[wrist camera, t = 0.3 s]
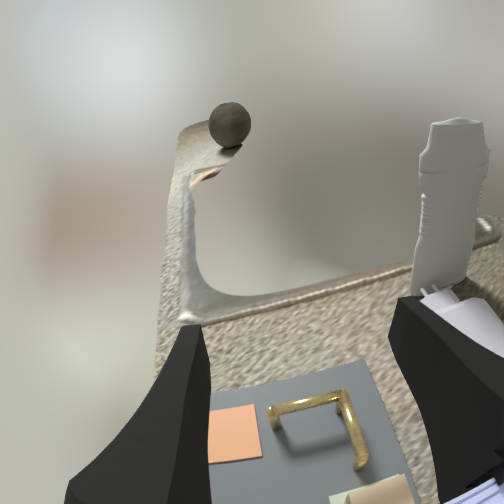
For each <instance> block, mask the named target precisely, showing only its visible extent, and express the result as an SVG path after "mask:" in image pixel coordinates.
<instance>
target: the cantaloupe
mask: <svg viewBox="0 0 504 504" xmlns="http://www.w3.org/2000/svg"><path fill="white" fill-rule="evenodd" d="M250 129H251V118H250V115H249V113H248V112H247V111H246V109H245V108H244V107H243V106H242V105H240V104H238V103H233V102H231V103H224V104H221V105H219V106H217V107H216V108H215V109H214V110H213V112H212V113H211V115H210V118H209V131H210V134H211V136H212V138H213V139H214V140H215V141H216V143H218V144H219V145H220V146H222V147H226V148H231V147H235V146H237V145H239V144H241V143H242V142H243V141H244V140H245V138H246V137H247V135H248V134H249V132H250Z"/></svg>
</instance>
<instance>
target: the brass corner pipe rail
mask: <svg viewBox="0 0 504 504" xmlns="http://www.w3.org/2000/svg"><path fill="white" fill-rule="evenodd" d="M333 402H336V407H335V412H336V414H337V415H343V418H344V421H345V424H346V427H347V430H348V433H349V436H350V439H351V443H352V446H353V449H354V452H355V455H356V457H355V460H354V463H353V466H352V468H353V470H354V471H356V472H360V471H362V470H363V469H364V467H365V464H366V462H367V460H368V458H369V452H368V449H367V446H366V443H365V440H364V437H363V434H362V431H361V428H360V425H359V423H358V420H357V417H356V414H355V411H354V408H353V405H352V403H351V400H350V397H349V394H348V391H347V390H346V389H344V388H341V389H337V390H334V391H330V392H326V393H323V394H319V395H315V396H311V397H307V398H303V399H299V400H294V401H290V402H285V403H281V404H276V405H271V406H268V407H267V408H266V415H267V417H268V420H269V423H270V426H271V428H272V430H274V431H279V430H280V429H281V428H282V424H281V420H280V416H279V415H284V414H289V413H293V412H297V411H302V410H306V409H310V408H314V407H318V406H322V405H326V404H329V403H333Z"/></svg>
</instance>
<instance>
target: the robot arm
mask: <svg viewBox="0 0 504 504" xmlns="http://www.w3.org/2000/svg"><path fill="white" fill-rule="evenodd" d="M388 339H389V342H390V345H391V348H392V351H393V354H394V356H395V359H396V361H397V363H398V365H399V367H400V369H401V372H402V374H403V376H404V378H405V380H406V382H407V384H408V386H409V388H410V390H411V392H412V394H413V396H414V398H415V400H416V402H417V405H418V407H419V410H420V412H421V415H422V418H423V421H424V425H425V428H426V431H427V435H428V439H429V443H430V446H431V451H432V456H433V461H434V466H435V472H436V480H437V488H438V498H439V501H440V504H504V358H503V357H501V356H499V355H497V354H496V353H494V352H492V351H490V350H489V349H487V348H485V347H483V346H482V345H480V344H479V343H477V342H475V341H474V340H473V339H471V338H470V337H468V336H467V335H465V334H464V333H462V332H461V331H459V330H458V329H457V328H455V327H454V326H452V325H451V324H450V323H448V322H447V321H446V320H444V319H443V318H442V317H440V316H439V315H438V314H436V313H435V312H434V311H433V310H431V309H430V308H429V307H427V306H426V305H424V304H423V303H422V302H420V301H419V300H418V299H416V298H415V297H413V296H407V297H402V298H398V301H397V305H396V309H395V313H394V317H393V320H392V324H391V328H390V331H389V335H388ZM210 397H211V376H210V361H209V357H208V353H207V350H206V346H205V341H204V337H203V333H202V329H201V325H187V326H182V327H181V329H180V331H179V334H178V336H177V339H176V341H175V343H174V345H173V348H172V350H171V352H170V354H169V356H168V358H167V360H166V362H165V364H164V366H163V368H162V370H161V372H160V374H159V375H158V377H157V379H156V381H155V382H154V384H153V386H152V387H151V389H150V391H149V393H148V394H147V396H146V397H145V399H144V400H143V402H142V403H141V405H140V407H139V408H138V409H137V411H136V412H135V414H134V415H133V416H132V418H131V419H130V420H129V422H128V423H127V424H126V425H125V427H124V428H123V429H122V430H121V432H120V433H119V434H118V435H117V436H116V437H115V439H114V440H113V441H112V442H111V443H110V444H109V445H108V446H107V447H106V448H105V449H104V450H103V451H102V452H101V453H100V454H99V455H98V456H97V457H96V459H94V460H93V461H92V462H91V463H90V464H89V465H88V466H86V467H85V468H84V469H83V470H82V471H80V472H79V473H78V474H77V475H76V476H75V477H73V478H72V479H71V480H70V481H69V484H68V487H67V490H66V495H65V501H64V504H212V499H211V488H210V477H209V462H208V430H209V414H210Z"/></svg>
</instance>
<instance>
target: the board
mask: <svg viewBox="0 0 504 504" xmlns="http://www.w3.org/2000/svg"><path fill="white" fill-rule="evenodd" d="M341 388H344V389H346V390H347V391H348V394H349V397H350V400H351V403H352V405H353V408H354V411H355V414H356V417H357V420H358V423H359V425H360V428H361V431H362V434H363V437H364V440H365V443H366V446H367V449H368V452H369V458H368V460H367V462H366V464H365V467H364V469H363V470H362V471H360V472H356V471H354V470H353V468H352V466H353V463H354V460H355V457H356V455H355V452H354V449H353V446H352V443H351V439H350V436H349V433H348V430H347V427H346V424H345V421H344V418H343V415H337V414H336V412H335V407H336V402H333V403H329V404H326V405H322V406H318V407H314V408H310V409H306V410H302V411H297V412H293V413H289V414H284V415H279V416H280V420H281V424H282V428H281V429H280V430H279V431H274V430H272V428H271V426H270V423H269V420H268V417H267V415H266V408H267V407H268V406H271V405H276V404H281V403H285V402H290V401H294V400H299V399H303V398H307V397H311V396H315V395H319V394H323V393H326V392H330V391H334V390H337V389H341ZM208 462H209V477H210V488H211V499H212V504H344V501H345V499H346V497H347V495H348V493H349V492H352V491H356V490H359V489H362V488H365V487H368V486H371V485H374V484H377V483H380V482H383V481H386V480H388V479H391V478H394V477H396V476H399V475H402V474H405V477H406V480H407V482H408V485H409V488H410V491H411V494H412V497H413V500H414V503H415V504H421V503H420V500H419V497H418V494H417V492H416V489H415V486H414V483H413V480H412V477H411V475H410V472H409V469H408V466H407V464H406V461H405V458H404V456H403V453H402V450H401V448H400V445H399V442H398V440H397V437H396V435H395V432H394V430H393V427H392V425H391V422H390V420H389V417H388V415H387V412H386V410H385V407H384V405H383V402H382V400H381V397H380V395H379V393H378V390H377V388H376V385H375V383H374V381H373V378H372V376H371V374H370V371H369V369H368V367H367V364H366V362H365V360H364V359H362V360H358V361H355V362H351V363H348V364H345V365H341V366H337V367H334V368H330V369H326V370H323V371H319V372H315V373H311V374H307V375H303V376H298V377H294V378H290V379H285V380H281V381H276V382H272V383H267V384H262V385H257V386H252V387H247V388H241V389H236V390H230V391H224V392H218V393H212V394H211V397H210V414H209V430H208Z"/></svg>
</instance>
